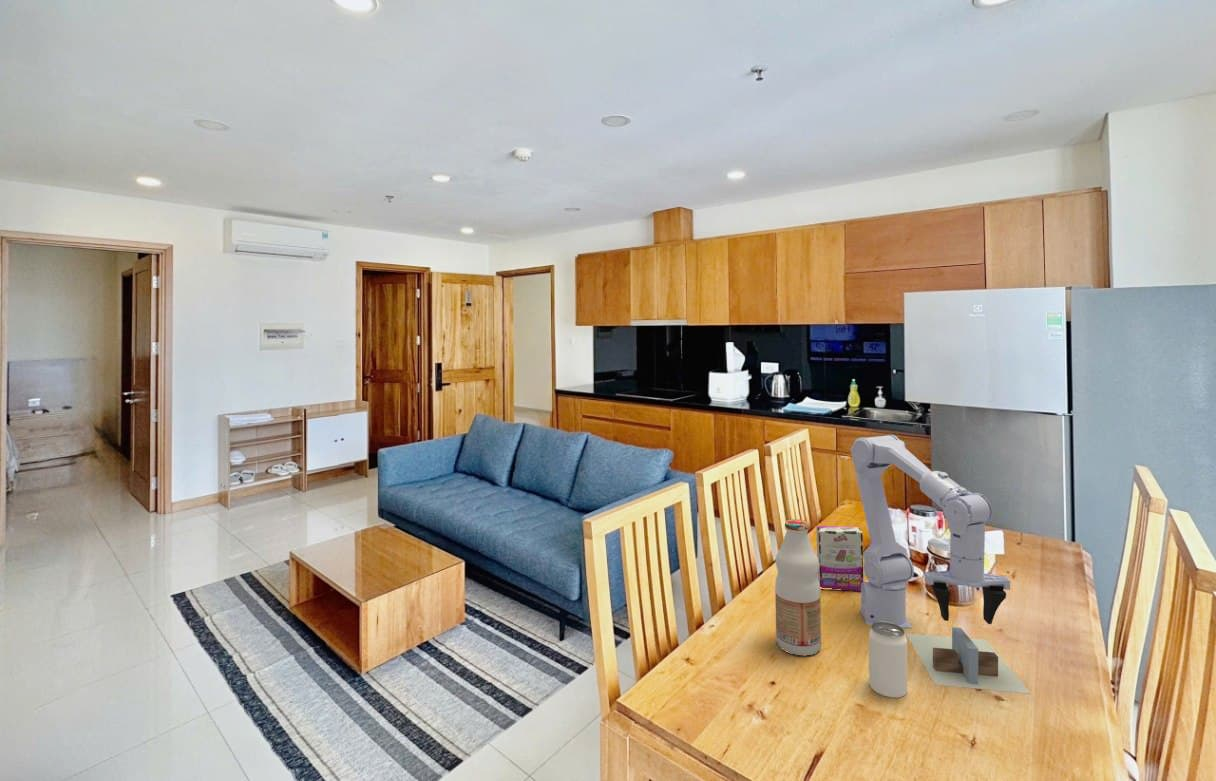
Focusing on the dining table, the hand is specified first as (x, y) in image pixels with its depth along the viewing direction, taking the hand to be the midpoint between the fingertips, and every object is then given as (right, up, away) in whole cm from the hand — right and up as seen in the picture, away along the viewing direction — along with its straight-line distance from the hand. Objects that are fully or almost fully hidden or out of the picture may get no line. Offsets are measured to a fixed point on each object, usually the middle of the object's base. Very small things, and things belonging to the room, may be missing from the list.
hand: (966, 620), depth 110 cm
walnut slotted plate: (-1, -10, -1) cm, 10 cm away
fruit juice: (-30, -11, +11) cm, 34 cm away
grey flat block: (-1, -10, -1) cm, 10 cm away
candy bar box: (-9, -8, +39) cm, 40 cm away
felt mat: (+1, -10, +2) cm, 10 cm away
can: (-19, -11, -5) cm, 22 cm away
